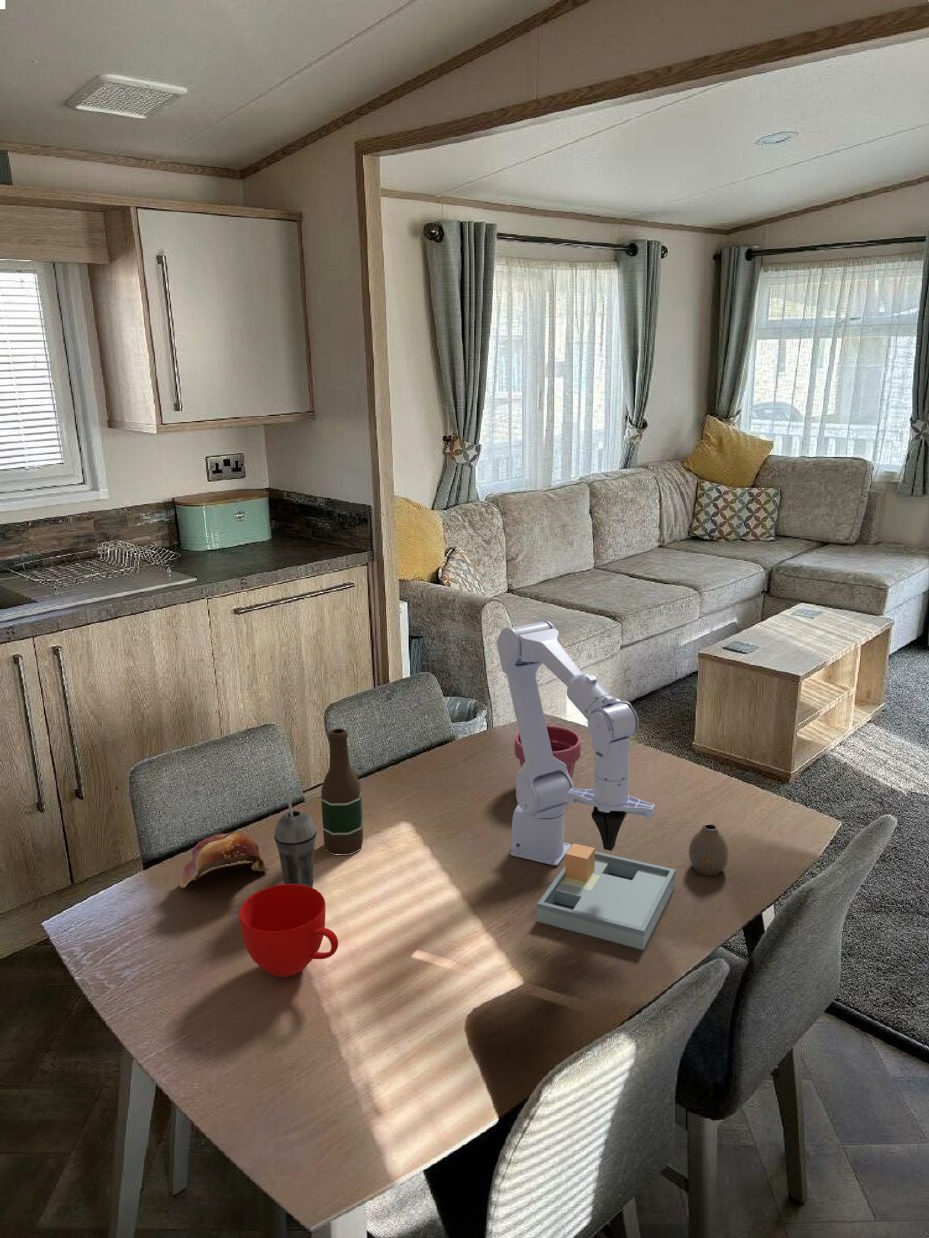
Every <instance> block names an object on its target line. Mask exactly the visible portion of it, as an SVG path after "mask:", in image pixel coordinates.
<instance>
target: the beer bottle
mask: <svg viewBox="0 0 929 1238" xmlns="http://www.w3.org/2000/svg"><path fill="white" fill-rule="evenodd" d="M348 737H349V733H348V731H347V730H346V729H344V728H334V729H331V730H329V733H328V736H327V739H329V769H328V772H327V773H326V775H325V778H324V780H323V784H322V786H321V791H320V792H321V793H320V796H321V797H320V799H321V802H320V803H321V817H322V831H323V833H322V835H323V846H324V850H325V849H326V850H328V851H329V852H328V851H327V852H328V853H330V852H331V853H333V854H350V853H353V852H355V851H357V850H359V849H361V850H362V846H363V841H364V829H363V828H364V827H363V826H364V825H363V824H364V823H363V806H362V805H363V804H362V789H361V787H362V786H361V782H360V780H359V777H358V775H357V773H355V771H354V770H353V769H352V767H351V763H350V756H349V746H348V740H347V739H348ZM326 850H325V851H326ZM359 851H360V850H359ZM357 852H358V851H357ZM331 853H330V854H331ZM355 853H356V852H355ZM333 854H332V855H333ZM353 854H354V853H353Z"/></svg>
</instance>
